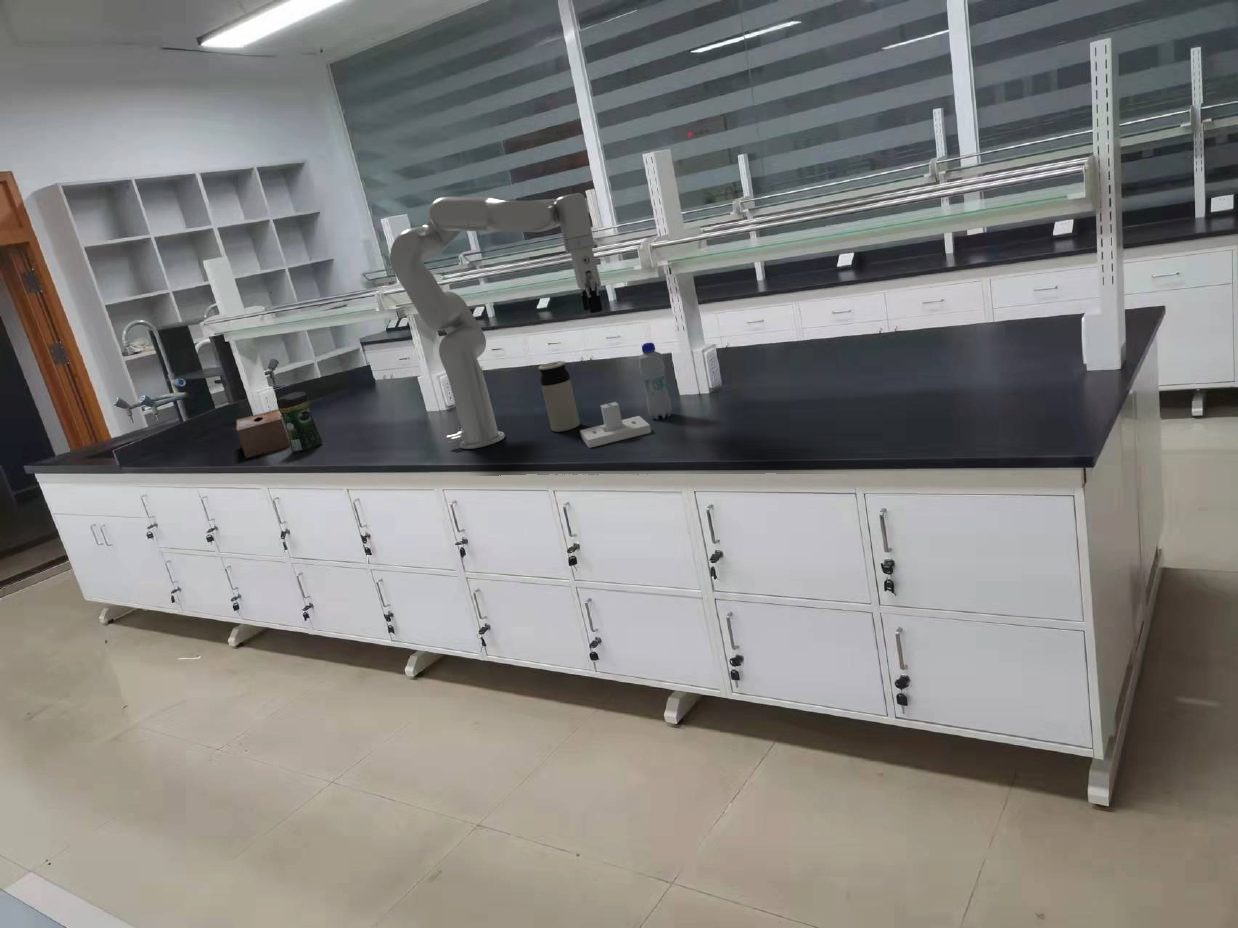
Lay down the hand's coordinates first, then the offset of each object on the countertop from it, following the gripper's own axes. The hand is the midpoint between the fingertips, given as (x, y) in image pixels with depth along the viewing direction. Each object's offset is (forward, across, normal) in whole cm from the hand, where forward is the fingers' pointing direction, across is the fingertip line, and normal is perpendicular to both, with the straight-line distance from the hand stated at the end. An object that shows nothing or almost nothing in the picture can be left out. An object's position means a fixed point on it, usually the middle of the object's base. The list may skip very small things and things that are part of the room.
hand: (593, 310), depth 229 cm
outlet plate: (+30, -14, +3) cm, 34 cm away
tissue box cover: (+31, +89, +109) cm, 144 cm away
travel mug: (+31, +7, +13) cm, 34 cm away
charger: (+30, -14, +3) cm, 34 cm away
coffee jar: (+31, +67, +92) cm, 118 cm away
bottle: (+31, -7, -11) cm, 33 cm away
